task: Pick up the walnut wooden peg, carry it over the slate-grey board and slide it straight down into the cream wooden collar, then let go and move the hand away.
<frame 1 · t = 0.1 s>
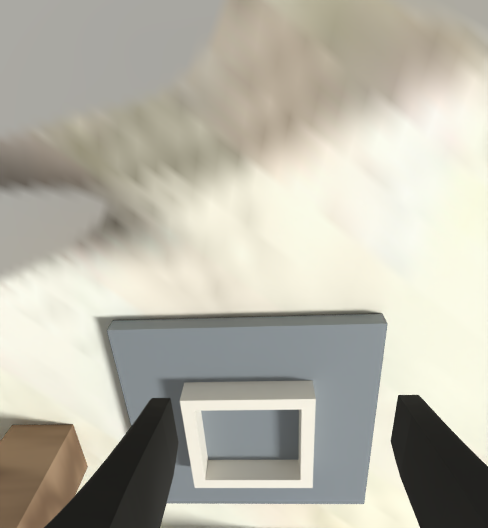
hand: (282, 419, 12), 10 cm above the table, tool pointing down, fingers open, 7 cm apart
holder: (251, 415, 26), on the table
peg: (51, 446, 28), on the table
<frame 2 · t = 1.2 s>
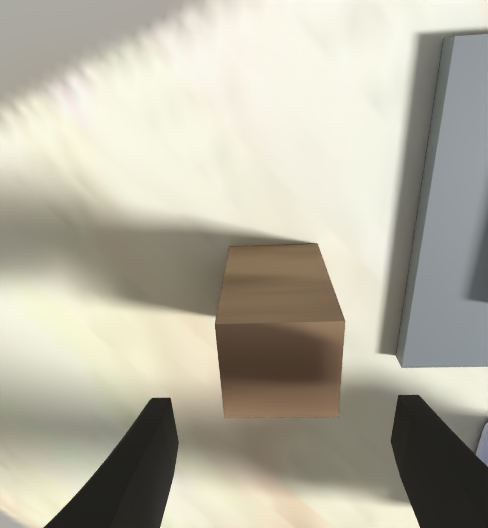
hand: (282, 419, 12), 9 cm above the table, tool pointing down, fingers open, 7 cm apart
peg: (273, 283, 20), on the table
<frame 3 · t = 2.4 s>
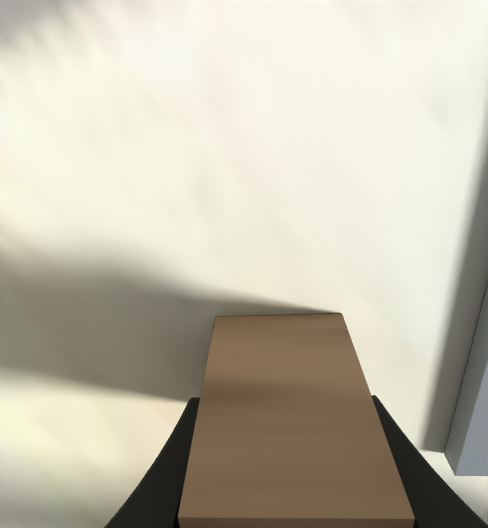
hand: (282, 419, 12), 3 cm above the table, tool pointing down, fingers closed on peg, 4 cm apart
peg: (278, 364, 14), on the table, touching gripper
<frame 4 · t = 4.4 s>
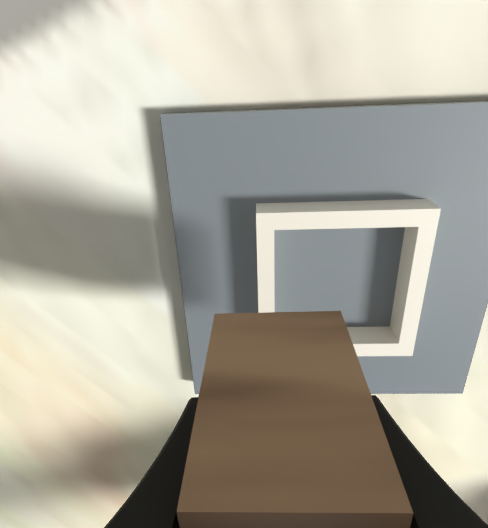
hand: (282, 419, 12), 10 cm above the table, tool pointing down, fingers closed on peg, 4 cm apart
holder: (331, 267, 20), on the table
peg: (277, 361, 15), point 7 cm above the table, touching gripper
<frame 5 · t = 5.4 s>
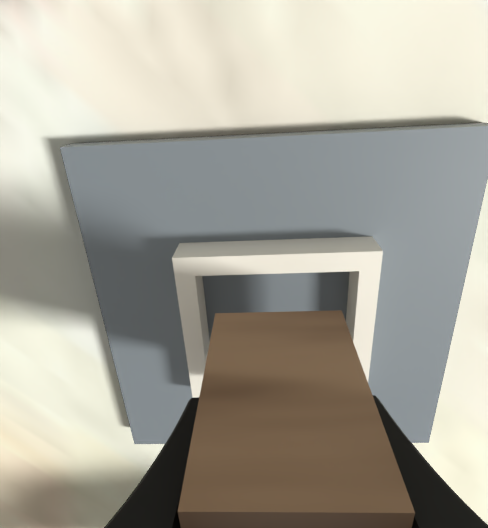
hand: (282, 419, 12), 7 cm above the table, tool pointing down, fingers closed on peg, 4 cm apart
holder: (275, 308, 18), on the table
peg: (278, 361, 14), point 4 cm above the table, touching gripper
when the fingers open (4 cm above the table, at t = 6.4 s): peg stays where it is, resting on holder.
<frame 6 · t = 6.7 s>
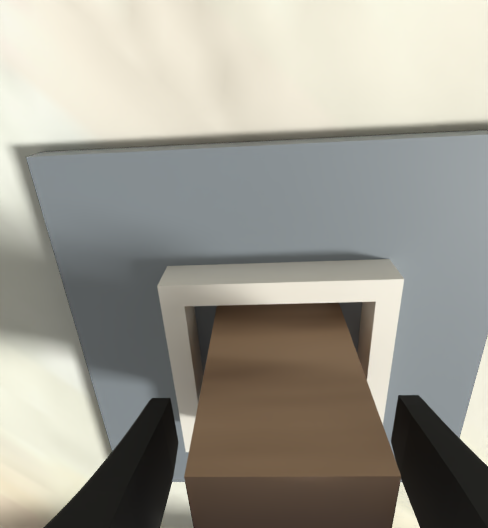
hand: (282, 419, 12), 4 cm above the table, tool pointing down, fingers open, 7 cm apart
holder: (277, 336, 16), on the table
peg: (278, 349, 15), point 1 cm above the table, touching holder
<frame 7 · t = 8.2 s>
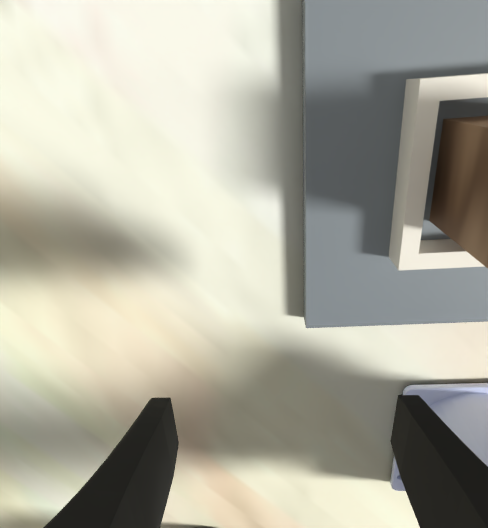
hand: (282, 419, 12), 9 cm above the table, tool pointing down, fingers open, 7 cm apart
holder: (476, 166, 18), on the table
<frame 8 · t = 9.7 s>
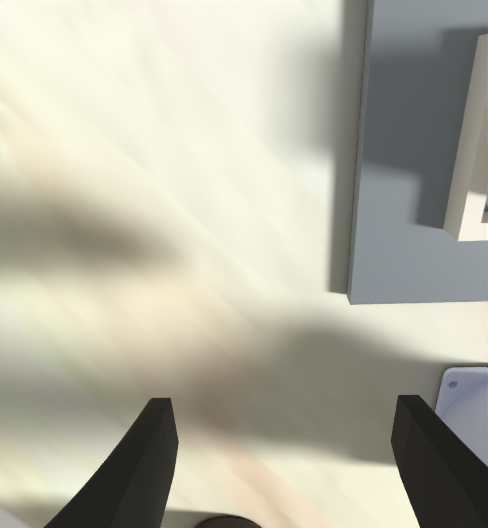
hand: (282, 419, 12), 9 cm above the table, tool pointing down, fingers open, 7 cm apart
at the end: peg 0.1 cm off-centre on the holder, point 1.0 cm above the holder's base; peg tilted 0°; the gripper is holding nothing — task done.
